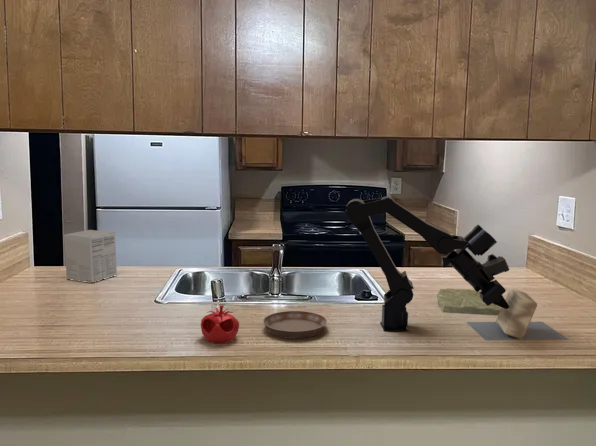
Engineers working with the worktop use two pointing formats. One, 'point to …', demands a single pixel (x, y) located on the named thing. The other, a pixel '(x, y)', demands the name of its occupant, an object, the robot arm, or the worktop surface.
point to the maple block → (516, 313)
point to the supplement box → (90, 255)
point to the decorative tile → (464, 302)
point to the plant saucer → (294, 324)
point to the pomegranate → (219, 326)
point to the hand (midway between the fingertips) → (507, 307)
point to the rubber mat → (496, 333)
